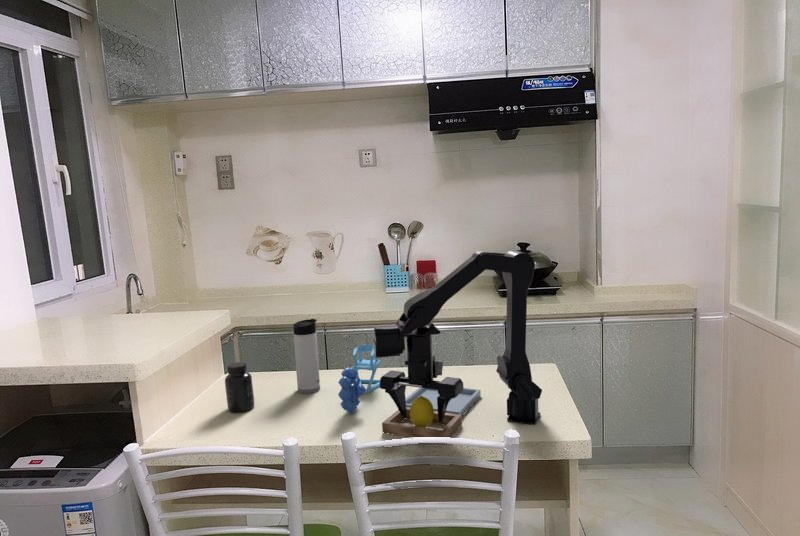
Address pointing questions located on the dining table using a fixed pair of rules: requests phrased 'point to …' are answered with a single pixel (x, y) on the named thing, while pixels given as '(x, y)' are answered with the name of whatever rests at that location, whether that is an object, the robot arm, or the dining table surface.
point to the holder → (404, 430)
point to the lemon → (421, 412)
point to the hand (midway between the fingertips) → (422, 419)
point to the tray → (454, 405)
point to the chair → (366, 366)
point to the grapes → (350, 389)
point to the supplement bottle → (239, 388)
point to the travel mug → (306, 356)
